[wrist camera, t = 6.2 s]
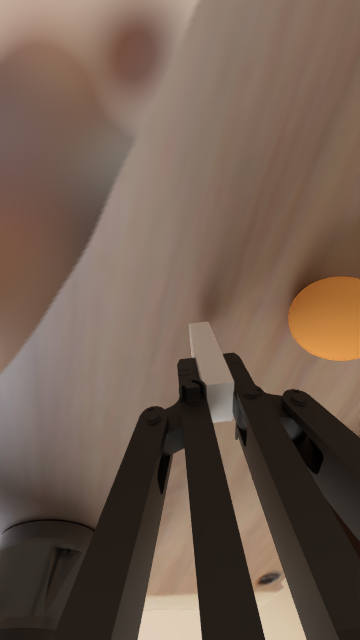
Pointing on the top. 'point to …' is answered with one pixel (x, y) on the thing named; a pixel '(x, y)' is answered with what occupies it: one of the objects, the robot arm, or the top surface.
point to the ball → (328, 318)
